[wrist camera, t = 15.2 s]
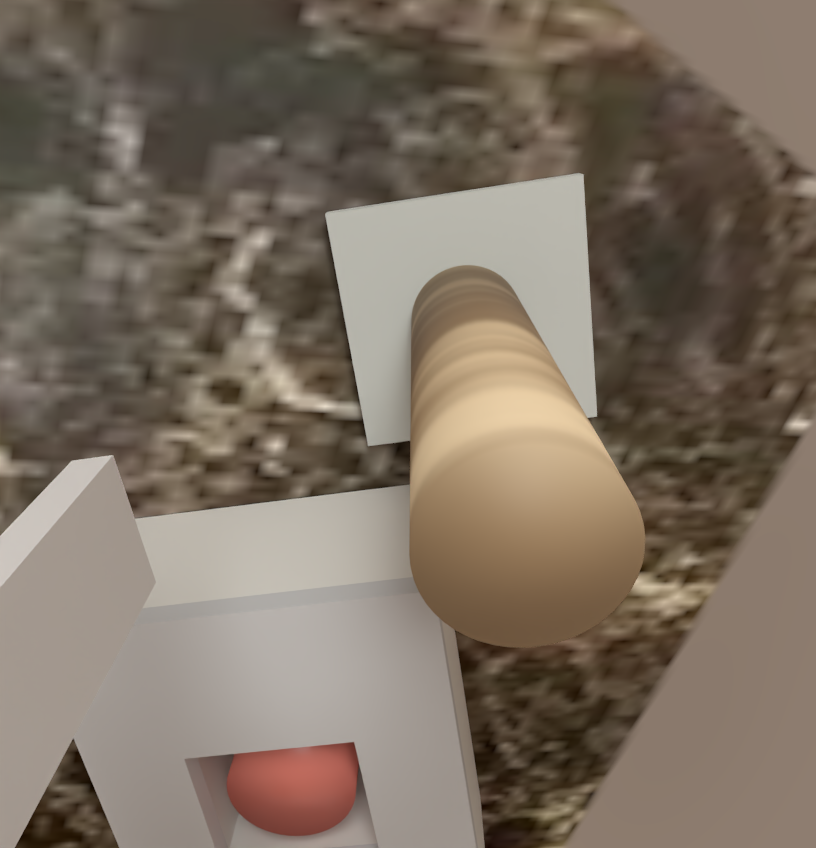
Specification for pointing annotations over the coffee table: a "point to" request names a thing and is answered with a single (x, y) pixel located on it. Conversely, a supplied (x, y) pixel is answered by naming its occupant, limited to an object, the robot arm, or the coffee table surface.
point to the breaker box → (284, 678)
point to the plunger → (295, 787)
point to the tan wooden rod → (508, 475)
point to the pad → (455, 246)
